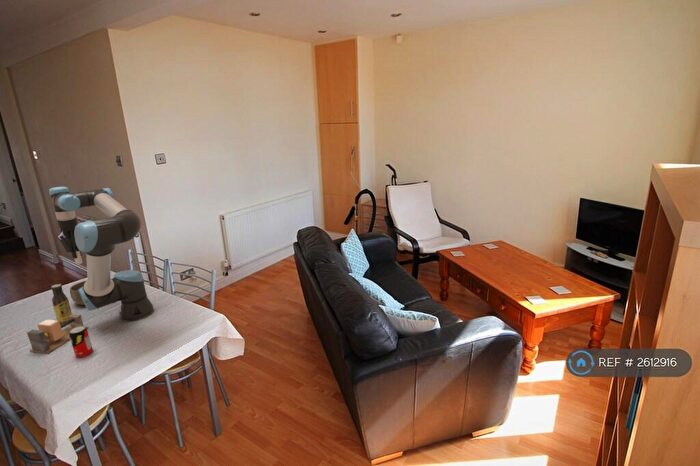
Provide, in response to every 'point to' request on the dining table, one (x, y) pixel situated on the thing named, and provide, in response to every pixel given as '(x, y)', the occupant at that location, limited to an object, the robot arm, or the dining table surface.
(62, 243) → the robot arm
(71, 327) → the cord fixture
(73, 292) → the bowl
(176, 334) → the dining table surface
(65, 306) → the sauce bottle
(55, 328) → the sleeve
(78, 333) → the beverage can
